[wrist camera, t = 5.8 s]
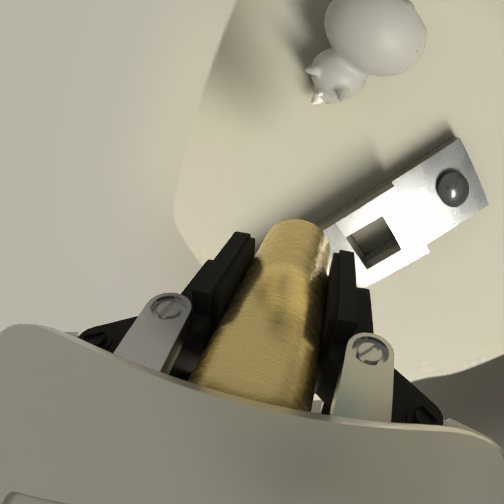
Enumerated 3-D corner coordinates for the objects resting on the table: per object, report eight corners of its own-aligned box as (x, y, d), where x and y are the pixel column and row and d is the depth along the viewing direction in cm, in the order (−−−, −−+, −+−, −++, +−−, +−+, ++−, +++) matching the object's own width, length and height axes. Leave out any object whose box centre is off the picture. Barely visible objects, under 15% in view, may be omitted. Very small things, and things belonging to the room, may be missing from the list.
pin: (266, 213, 13) (133, 426, 4) (335, 225, 12) (308, 479, 3) (261, 272, 14) (164, 473, 6) (323, 284, 13) (280, 507, 5)
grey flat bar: (453, 136, 20) (469, 141, 17) (482, 199, 21) (497, 211, 18) (255, 262, 31) (246, 279, 29) (293, 307, 33) (288, 327, 30)
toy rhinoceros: (297, 66, 23) (254, 82, 18) (372, -21, 14) (353, -44, 9) (355, 115, 24) (332, 147, 19) (439, 35, 15) (452, 35, 10)
